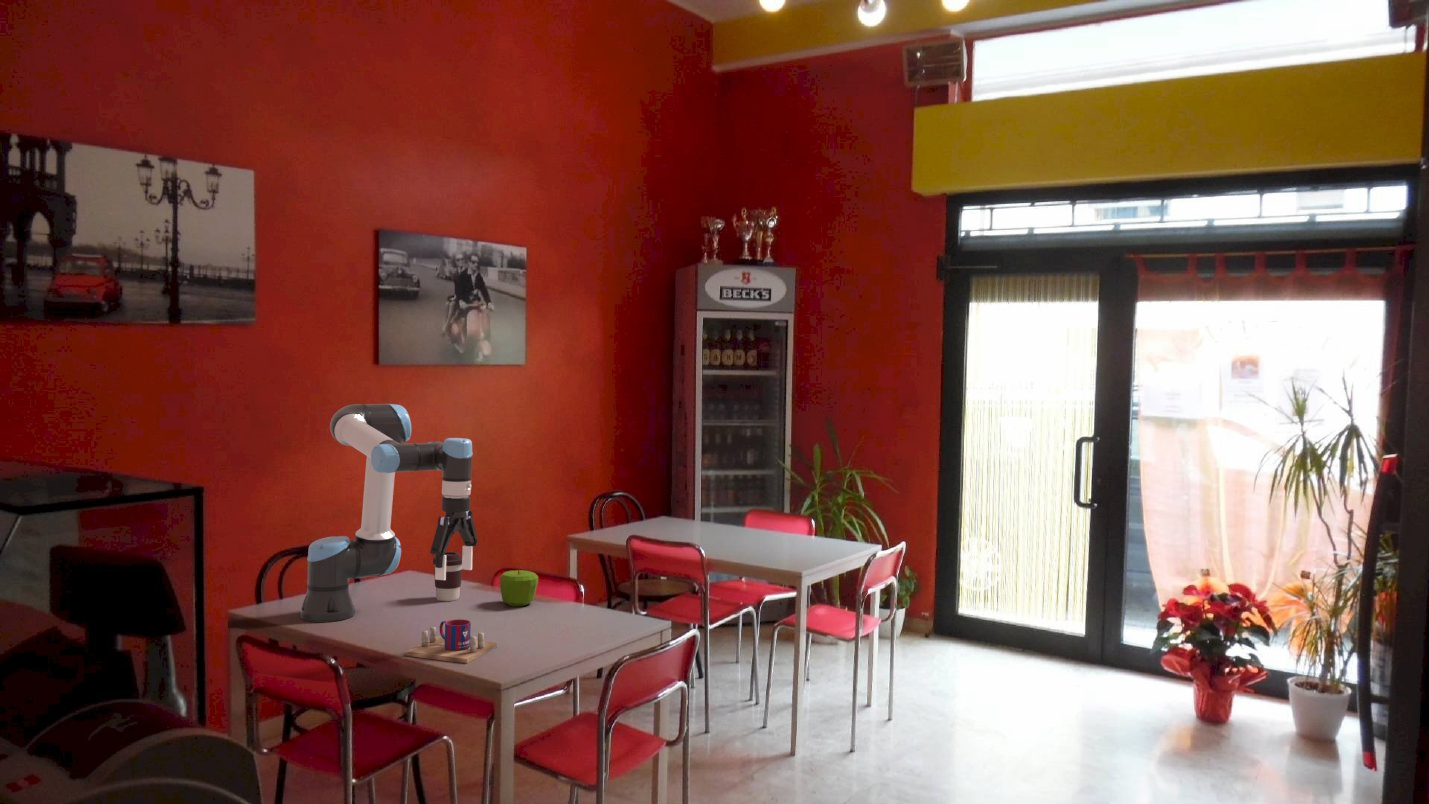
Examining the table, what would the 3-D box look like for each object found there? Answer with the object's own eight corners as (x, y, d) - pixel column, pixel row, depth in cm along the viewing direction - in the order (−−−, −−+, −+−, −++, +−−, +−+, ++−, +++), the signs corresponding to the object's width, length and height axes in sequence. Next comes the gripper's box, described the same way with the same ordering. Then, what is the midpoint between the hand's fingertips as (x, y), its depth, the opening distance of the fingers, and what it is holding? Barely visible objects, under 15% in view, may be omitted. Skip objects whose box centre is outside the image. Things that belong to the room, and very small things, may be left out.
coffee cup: (469, 598, 323) (470, 553, 322) (446, 604, 314) (447, 557, 314) (448, 593, 328) (449, 549, 327) (425, 599, 320) (426, 553, 319)
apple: (543, 606, 316) (544, 571, 315) (507, 610, 309) (508, 574, 309) (527, 598, 326) (528, 564, 326) (493, 601, 319) (493, 567, 319)
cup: (454, 652, 258) (455, 627, 258) (432, 644, 265) (432, 619, 264) (475, 647, 263) (475, 622, 263) (452, 640, 270) (453, 615, 270)
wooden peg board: (406, 655, 258) (406, 636, 258) (438, 640, 274) (439, 621, 273) (467, 663, 253) (467, 643, 253) (496, 647, 269) (497, 628, 268)
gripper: (443, 503, 249) (441, 585, 250) (491, 491, 273) (489, 566, 274) (417, 500, 251) (415, 582, 252) (467, 489, 275) (465, 564, 276)
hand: (454, 574), depth 263 cm, fingers open, 13 cm apart
